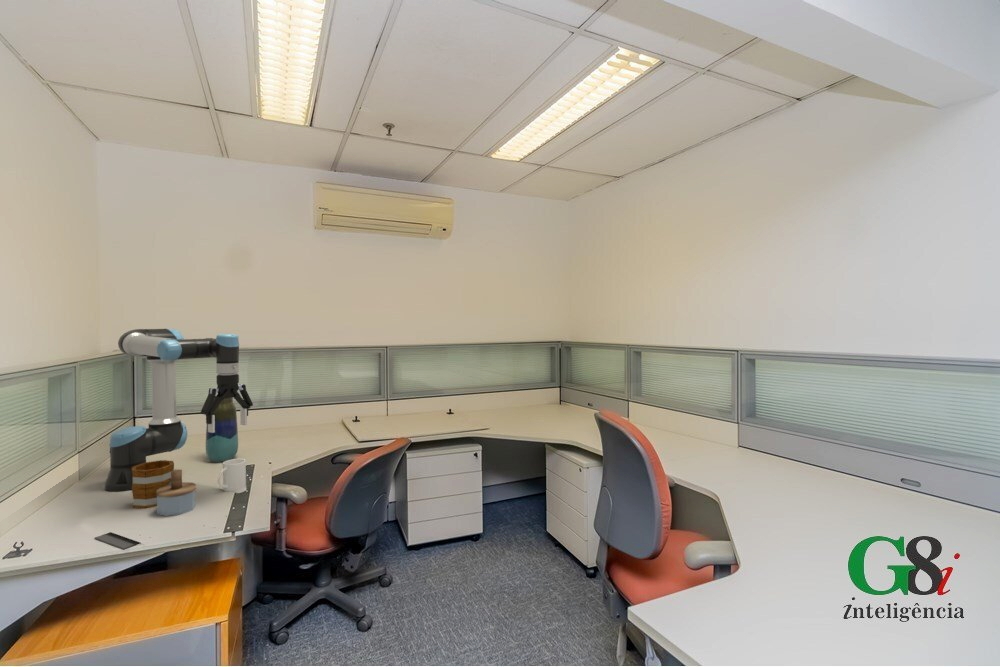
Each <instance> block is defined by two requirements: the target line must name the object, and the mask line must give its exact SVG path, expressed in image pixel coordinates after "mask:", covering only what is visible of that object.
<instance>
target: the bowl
mask: <svg viewBox="0 0 1000 667" xmlns="http://www.w3.org/2000/svg"><path fill="white" fill-rule="evenodd" d="M196 502H197V501H196V490H194V491H193V492H191V493H188V494H185V495H181V496H176V497H158V496H157V506H156V514H157V515H161V516H164V517H167V516H178V515H182V514H184V513H187V512H190V511H193V510H194V508H195V507H196V506H197V505H196V504H197V503H196Z"/></svg>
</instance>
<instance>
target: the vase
mask: <svg viewBox="0 0 1000 667" xmlns="http://www.w3.org/2000/svg"><path fill="white" fill-rule="evenodd" d="M216 396H217V395H216ZM216 396H215V397H216ZM220 397H221V396H220ZM214 400H215V398H214ZM214 400H213V401H214ZM212 415H215V432H214V433H211V432H208V424H207V423H206V429H205V454H206V456H207V458H208V459H209V460H210V461H211V462H213V463H214V462H215V463H223V462H225V461H227V460H232V459H235V456H236V455H237V453H238V451H239V431H238V417H237V416H238V414H237V407H236V405H235V403H234V398H227V399H224V400H222V401H221V403H220V404H219V406H218V407H217V409H216V410H215V411H214V413H213V414H212Z"/></svg>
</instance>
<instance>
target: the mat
mask: <svg viewBox="0 0 1000 667" xmlns="http://www.w3.org/2000/svg"><path fill="white" fill-rule="evenodd" d="M94 540H97V541H99V542H102V543H104V544H107V545H110V546H113V547H116V548H118V549H121V550H124V551H125V550H126V549H129V548H132V547H135V546H137V545H140V544H141V542H140V541H137V540H134V539H131V538H129V537H127V536H126V537H125V536H123V535H120V534H116V533H114V532H111V531H110V532H107V533H104V534H101V535H99V536H95V537H94Z"/></svg>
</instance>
